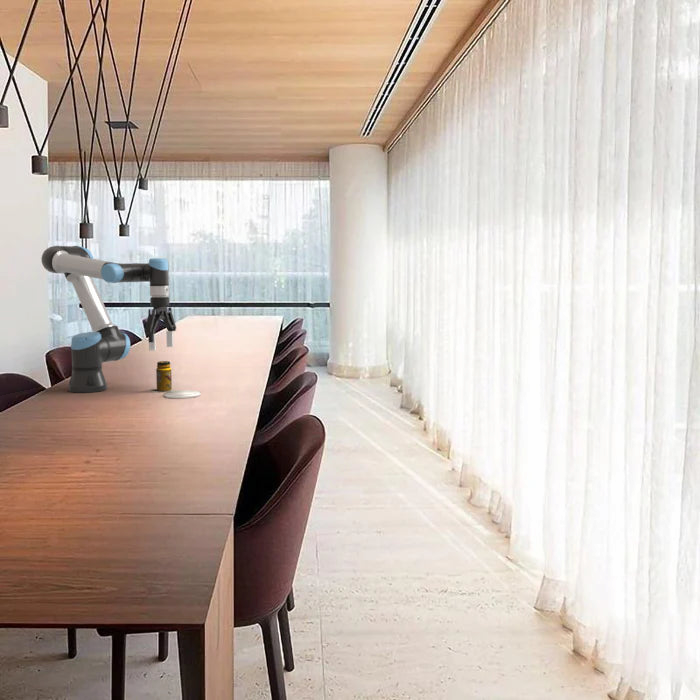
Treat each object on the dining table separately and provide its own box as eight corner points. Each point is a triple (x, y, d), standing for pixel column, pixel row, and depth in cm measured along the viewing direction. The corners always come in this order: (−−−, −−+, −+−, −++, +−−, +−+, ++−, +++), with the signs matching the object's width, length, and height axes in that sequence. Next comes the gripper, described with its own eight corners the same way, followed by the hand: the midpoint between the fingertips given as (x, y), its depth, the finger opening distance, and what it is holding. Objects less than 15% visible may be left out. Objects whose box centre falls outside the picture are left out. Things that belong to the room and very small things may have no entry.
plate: (157, 397, 305) (157, 394, 305) (175, 391, 319) (175, 388, 319) (189, 399, 301) (189, 396, 301) (206, 393, 314) (206, 390, 314)
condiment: (175, 391, 321) (174, 362, 320) (155, 393, 316) (154, 363, 315) (168, 388, 327) (168, 360, 326) (149, 390, 322) (148, 361, 321)
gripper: (151, 297, 304) (152, 352, 307) (183, 295, 328) (185, 345, 330) (134, 297, 307) (136, 351, 309) (167, 295, 330) (169, 345, 333)
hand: (161, 348), depth 320 cm, fingers open, 13 cm apart
